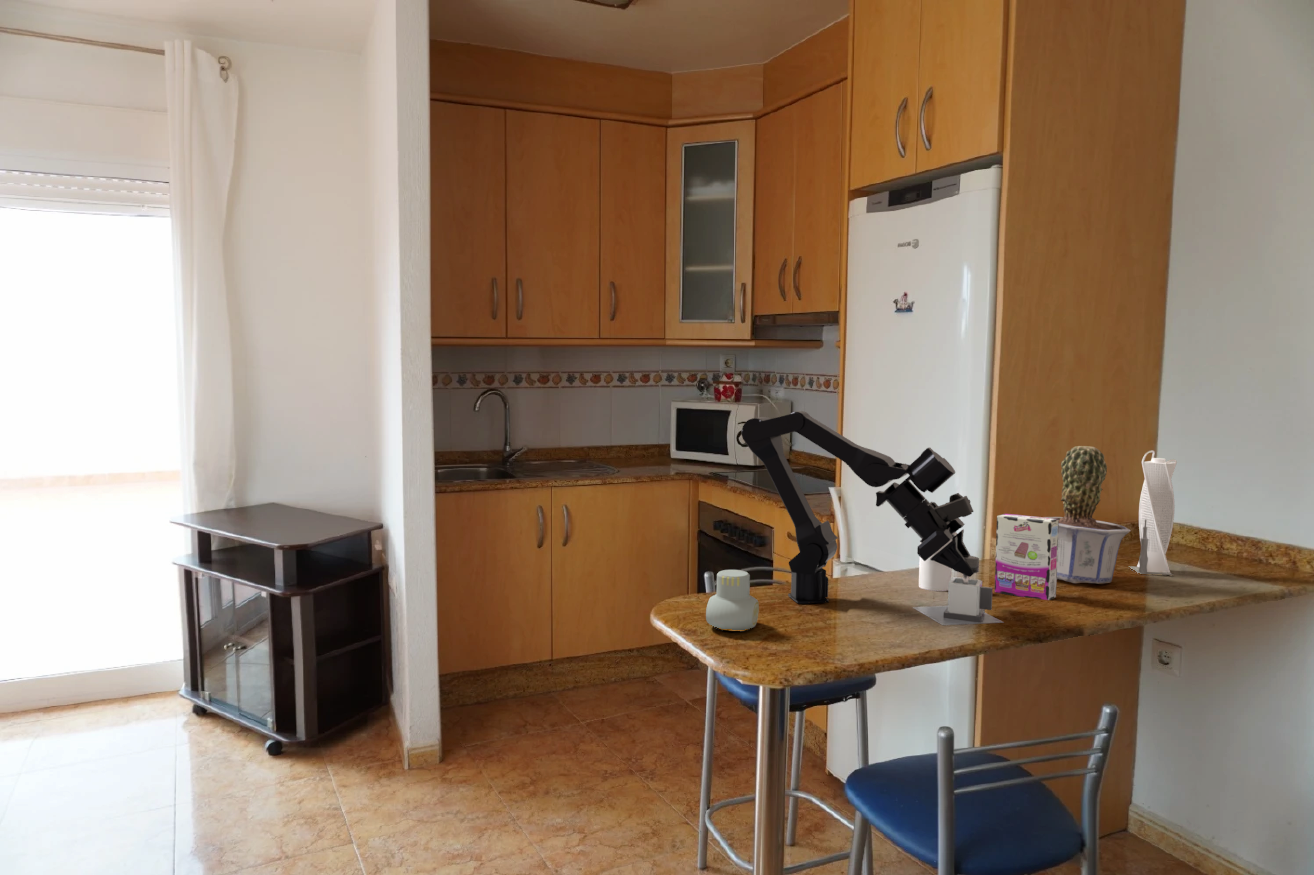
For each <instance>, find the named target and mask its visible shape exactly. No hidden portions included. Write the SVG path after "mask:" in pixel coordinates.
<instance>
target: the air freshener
mask: <svg viewBox="0 0 1314 875" xmlns="http://www.w3.org/2000/svg"><path fill="white" fill-rule="evenodd" d="M750 582H751V575H750V573H748V572H747V571H746V570H745V571H744V570H742V569H741V570H740V569H724V570H720V571H718V573H717V574H716V591H715V592H716V593H715V594H713V595H712V596H710V597H709V599H708V602H707V605H706V609H705V620H706V622H707V624H709V626H711V625H712V626H711V627H713V626H714V628H715V627H717V628H721V629H732V630H745V629H749V630H750V628H751V629H752V628H755V627H756V625H757V622H758V618H759V610H760V606H759V604H760V603H759V601H758V599H756V598H755V597H754V596H752V595H751V594H750V588H751V587H750V586H751V584H750ZM717 628H716V629H717Z"/></svg>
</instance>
